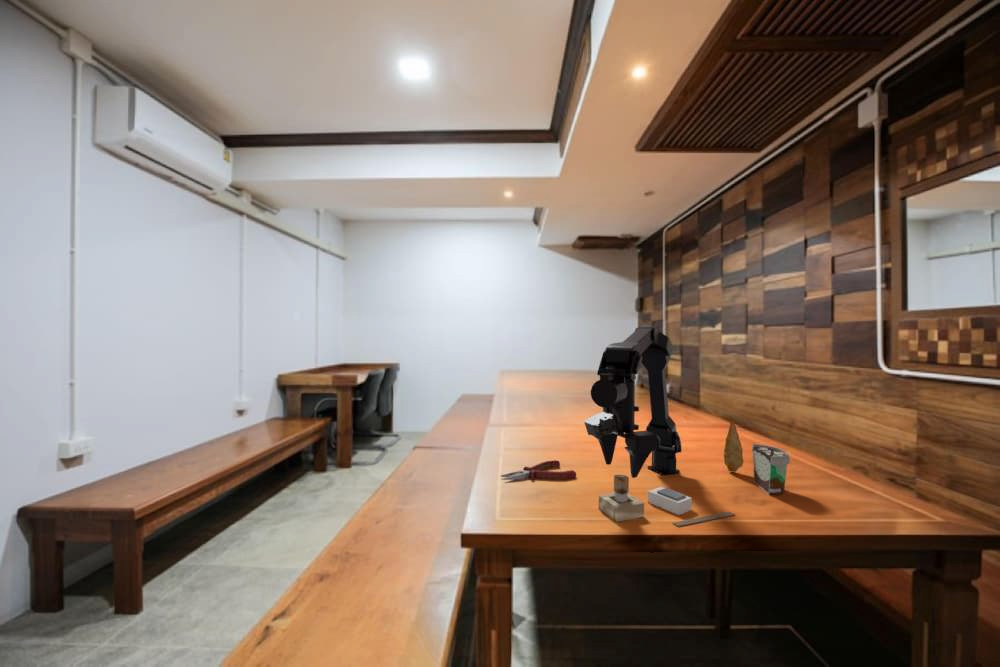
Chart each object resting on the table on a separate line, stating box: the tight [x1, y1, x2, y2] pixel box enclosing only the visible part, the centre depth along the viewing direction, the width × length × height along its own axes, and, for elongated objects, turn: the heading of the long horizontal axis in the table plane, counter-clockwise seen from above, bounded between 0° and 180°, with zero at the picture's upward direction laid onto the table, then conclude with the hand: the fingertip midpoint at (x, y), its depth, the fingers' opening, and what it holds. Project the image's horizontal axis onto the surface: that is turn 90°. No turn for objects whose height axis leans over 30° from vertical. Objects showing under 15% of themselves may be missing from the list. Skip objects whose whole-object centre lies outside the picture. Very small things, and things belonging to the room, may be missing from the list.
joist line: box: [672, 511, 736, 528], centre depth 90 cm, size 2×16×1 cm, turn 111°
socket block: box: [598, 492, 645, 522], centre depth 93 cm, size 7×7×3 cm
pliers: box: [500, 459, 577, 481], centre depth 116 cm, size 11×20×3 cm, turn 111°
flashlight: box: [613, 474, 630, 504], centre depth 93 cm, size 3×3×8 cm
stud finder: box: [647, 486, 693, 516], centre depth 96 cm, size 8×5×4 cm, turn 34°
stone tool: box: [723, 420, 744, 473], centre depth 119 cm, size 5×2×15 cm, turn 97°
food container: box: [751, 443, 791, 496], centre depth 107 cm, size 12×6×10 cm, turn 168°
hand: (620, 470), depth 92 cm, fingers open, 9 cm apart
